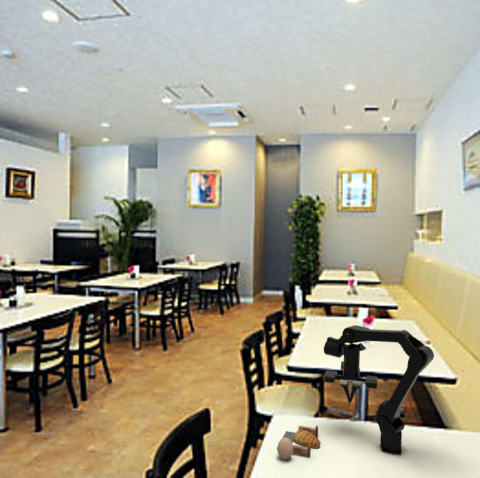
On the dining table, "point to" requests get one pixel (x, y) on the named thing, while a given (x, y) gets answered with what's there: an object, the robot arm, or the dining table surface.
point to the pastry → (306, 439)
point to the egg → (285, 448)
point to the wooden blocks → (304, 450)
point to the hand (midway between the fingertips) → (350, 402)
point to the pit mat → (289, 435)
